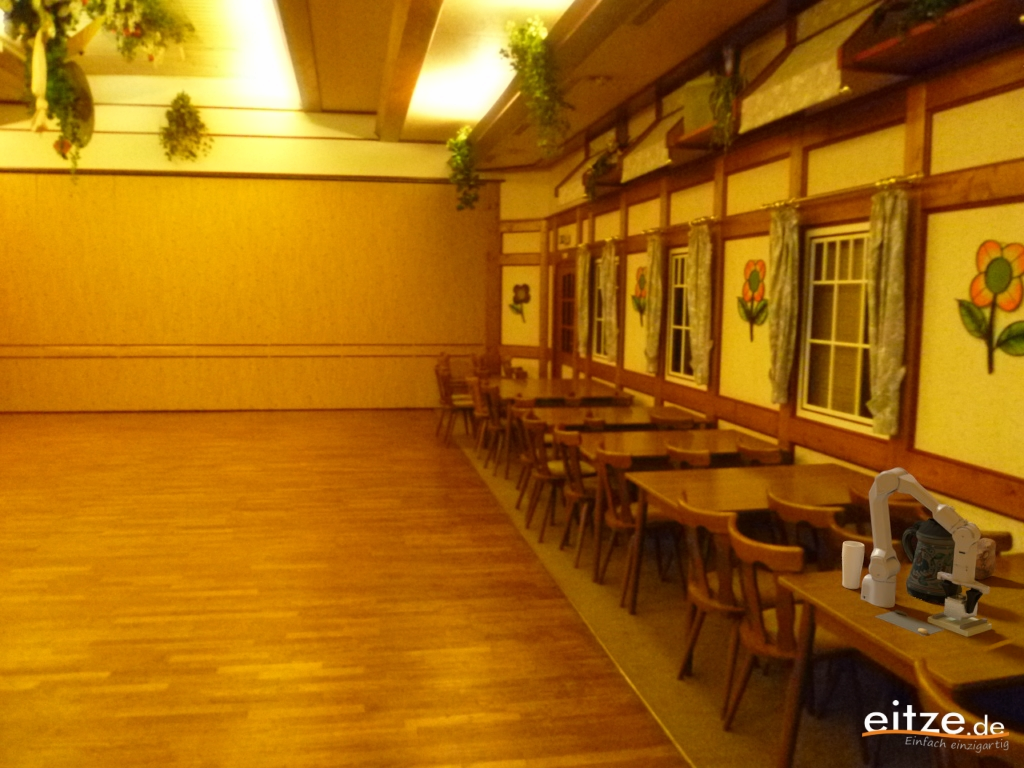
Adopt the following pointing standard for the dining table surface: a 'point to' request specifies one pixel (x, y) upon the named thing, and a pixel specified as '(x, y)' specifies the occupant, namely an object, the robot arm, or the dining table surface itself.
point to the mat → (909, 623)
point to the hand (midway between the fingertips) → (960, 609)
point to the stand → (960, 624)
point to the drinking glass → (852, 563)
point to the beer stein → (929, 560)
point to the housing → (958, 607)
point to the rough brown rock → (985, 558)
